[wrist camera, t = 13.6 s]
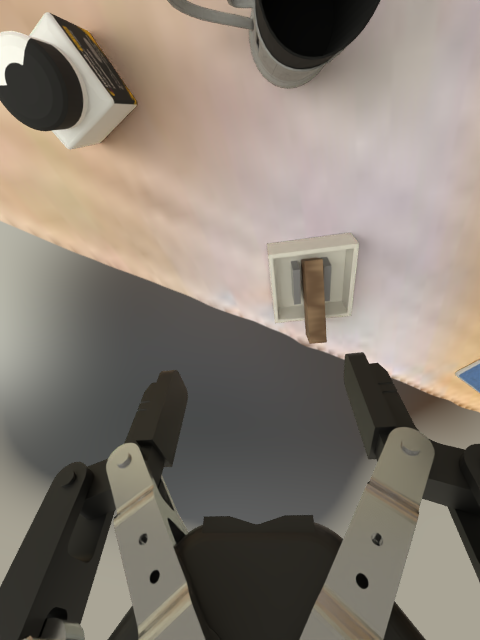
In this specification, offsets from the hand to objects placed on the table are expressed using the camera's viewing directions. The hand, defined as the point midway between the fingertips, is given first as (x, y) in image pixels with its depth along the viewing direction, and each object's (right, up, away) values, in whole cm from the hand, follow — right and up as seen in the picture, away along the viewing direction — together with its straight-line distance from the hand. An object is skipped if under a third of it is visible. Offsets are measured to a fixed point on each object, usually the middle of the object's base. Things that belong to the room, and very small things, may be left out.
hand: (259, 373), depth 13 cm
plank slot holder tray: (+10, +10, +30) cm, 33 cm away
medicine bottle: (-17, +28, +18) cm, 38 cm away
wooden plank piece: (+11, 0, +29) cm, 31 cm away
